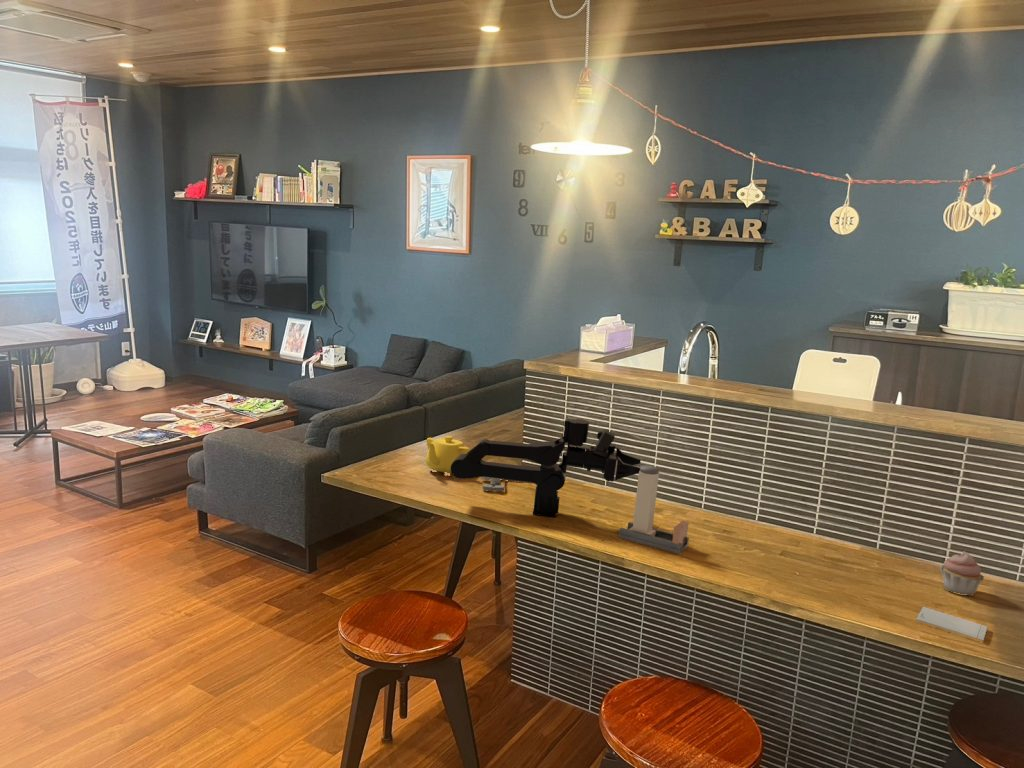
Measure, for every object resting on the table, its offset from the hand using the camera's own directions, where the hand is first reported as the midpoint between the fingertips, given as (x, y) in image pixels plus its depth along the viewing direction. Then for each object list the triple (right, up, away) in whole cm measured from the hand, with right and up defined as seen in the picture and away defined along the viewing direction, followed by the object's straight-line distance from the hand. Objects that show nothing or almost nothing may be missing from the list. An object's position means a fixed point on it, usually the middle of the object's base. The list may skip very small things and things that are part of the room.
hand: (641, 466), depth 206 cm
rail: (+1, -19, -11) cm, 22 cm away
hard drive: (+58, -30, -46) cm, 80 cm away
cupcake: (+71, -27, -26) cm, 81 cm away
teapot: (-58, -6, +36) cm, 69 cm away
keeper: (-1, -17, -9) cm, 19 cm away
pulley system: (-37, -9, +32) cm, 50 cm away
